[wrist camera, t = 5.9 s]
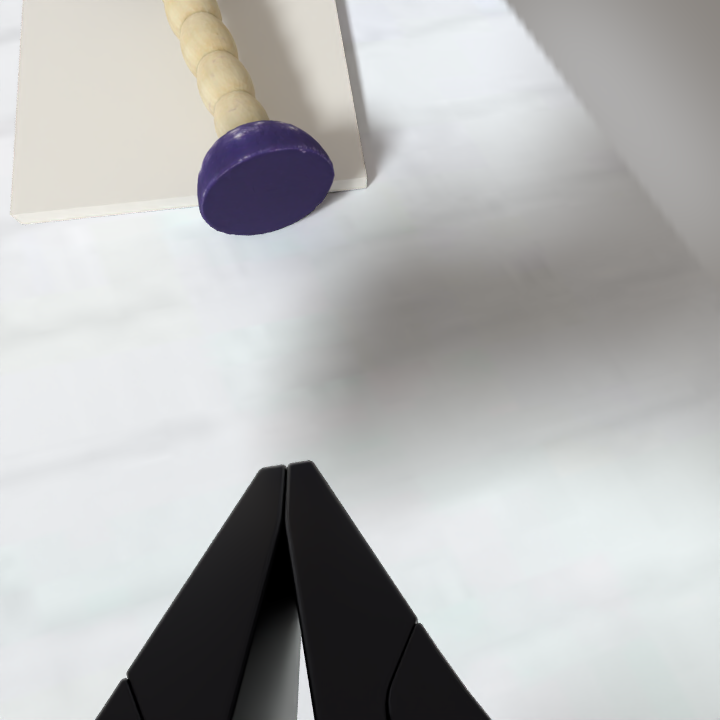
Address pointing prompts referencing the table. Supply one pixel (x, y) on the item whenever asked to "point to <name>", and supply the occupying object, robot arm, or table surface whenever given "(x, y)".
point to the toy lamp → (245, 136)
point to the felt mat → (161, 102)
